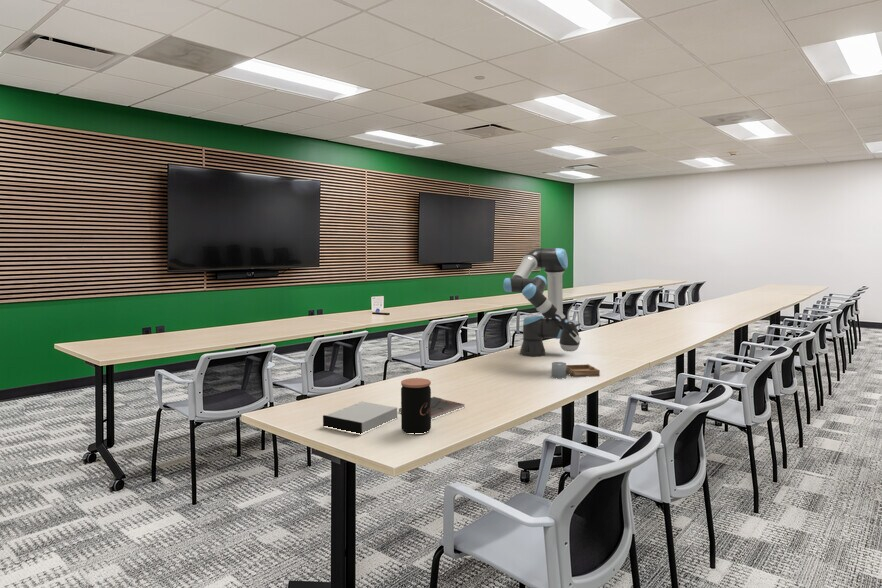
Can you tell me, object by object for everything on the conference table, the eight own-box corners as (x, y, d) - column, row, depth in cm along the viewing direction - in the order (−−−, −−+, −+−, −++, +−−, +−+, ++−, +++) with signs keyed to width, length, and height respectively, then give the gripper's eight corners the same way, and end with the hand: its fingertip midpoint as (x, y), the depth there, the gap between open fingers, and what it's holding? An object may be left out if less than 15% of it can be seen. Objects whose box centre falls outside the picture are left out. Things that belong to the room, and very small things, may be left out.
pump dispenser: (581, 352, 282) (582, 322, 281) (561, 352, 282) (561, 322, 281) (577, 348, 292) (578, 320, 291) (557, 348, 293) (558, 319, 291)
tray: (563, 370, 294) (563, 365, 293) (588, 370, 295) (588, 364, 295) (572, 377, 280) (573, 371, 280) (599, 376, 282) (599, 370, 281)
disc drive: (322, 428, 204) (322, 415, 203) (361, 412, 223) (361, 400, 222) (360, 437, 195) (360, 423, 194) (397, 419, 214) (397, 407, 214)
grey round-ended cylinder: (549, 375, 283) (549, 362, 282) (562, 375, 284) (563, 361, 283) (554, 379, 276) (554, 365, 275) (568, 378, 277) (568, 364, 276)
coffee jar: (423, 437, 193) (423, 386, 191) (396, 433, 197) (395, 383, 195) (435, 427, 203) (435, 379, 201) (408, 424, 207) (408, 376, 205)
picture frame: (433, 402, 238) (398, 414, 221) (433, 396, 238) (398, 408, 221) (464, 409, 227) (430, 422, 211) (464, 403, 227) (429, 416, 211)
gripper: (535, 311, 295) (563, 340, 298) (547, 316, 273) (578, 348, 276) (545, 301, 295) (573, 330, 298) (558, 306, 273) (588, 337, 276)
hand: (575, 339), depth 287 cm, fingers closed on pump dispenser, 10 cm apart
